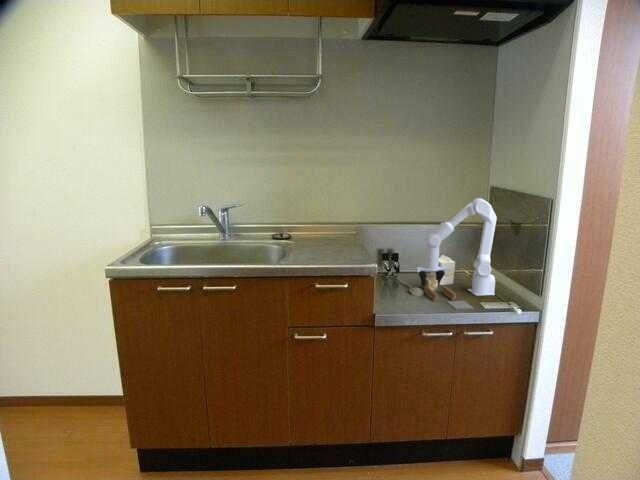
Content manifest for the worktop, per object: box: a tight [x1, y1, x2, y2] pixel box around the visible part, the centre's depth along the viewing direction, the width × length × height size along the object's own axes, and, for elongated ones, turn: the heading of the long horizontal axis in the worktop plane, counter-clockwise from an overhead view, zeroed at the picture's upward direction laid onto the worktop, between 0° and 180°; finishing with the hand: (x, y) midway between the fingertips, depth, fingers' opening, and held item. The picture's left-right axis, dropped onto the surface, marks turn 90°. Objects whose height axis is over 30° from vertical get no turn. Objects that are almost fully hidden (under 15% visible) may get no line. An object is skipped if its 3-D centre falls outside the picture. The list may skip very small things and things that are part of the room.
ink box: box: [429, 254, 456, 286], centre depth 198 cm, size 9×8×13 cm
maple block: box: [423, 276, 439, 292], centre depth 189 cm, size 4×6×5 cm
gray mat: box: [446, 300, 474, 310], centre depth 169 cm, size 8×8×1 cm
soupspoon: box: [397, 278, 425, 297], centre depth 190 cm, size 22×3×7 cm
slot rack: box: [423, 285, 457, 302], centre depth 179 cm, size 10×11×3 cm
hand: (430, 285), depth 189 cm, fingers open, 6 cm apart
